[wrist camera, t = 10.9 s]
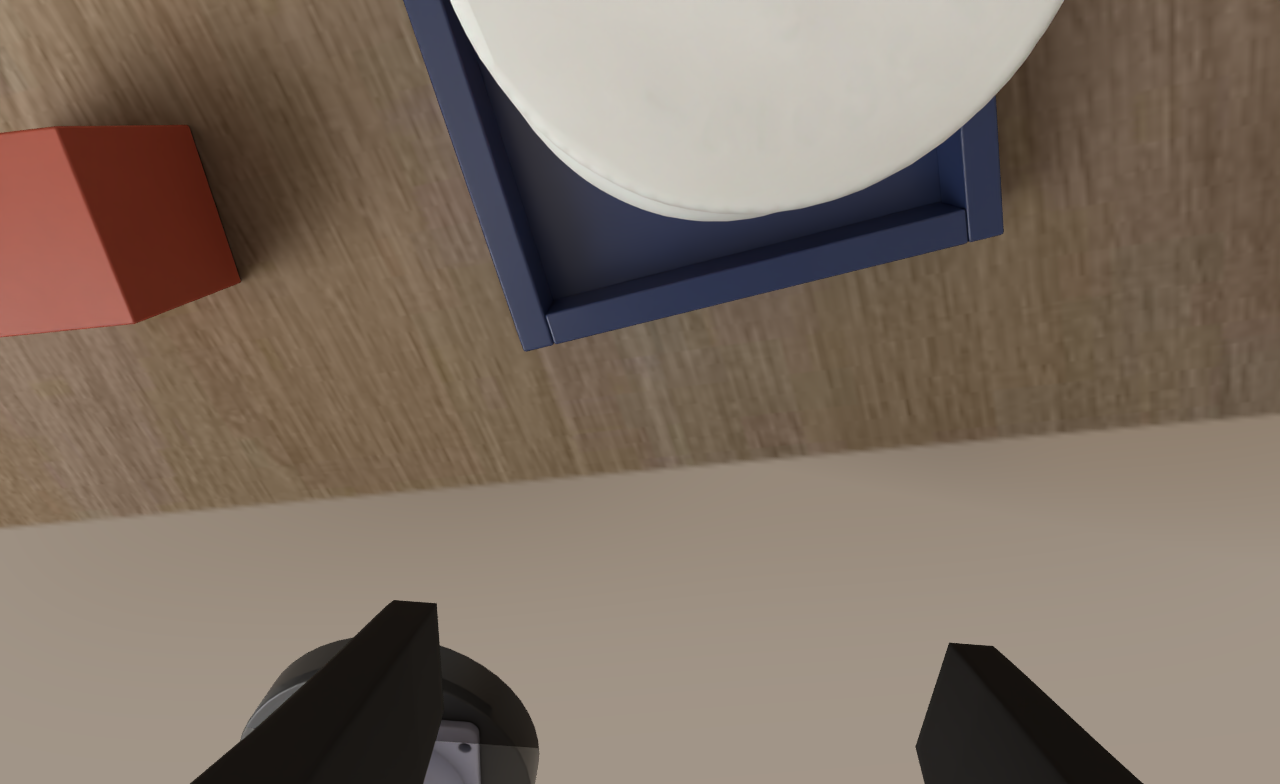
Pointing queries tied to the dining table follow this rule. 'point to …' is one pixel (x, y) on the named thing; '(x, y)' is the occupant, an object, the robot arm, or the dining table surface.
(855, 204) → the tray
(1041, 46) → the dining table surface
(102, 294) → the block
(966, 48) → the pill bottle
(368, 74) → the dining table surface
